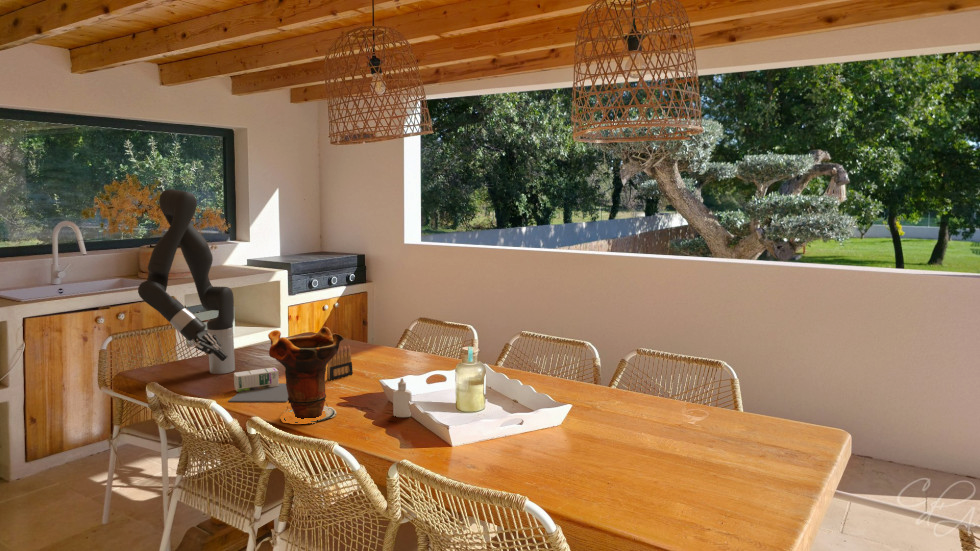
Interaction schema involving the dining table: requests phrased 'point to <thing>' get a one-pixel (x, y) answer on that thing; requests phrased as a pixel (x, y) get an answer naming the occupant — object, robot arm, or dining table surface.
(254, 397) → the mat
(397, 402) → the eye dropper bottle
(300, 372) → the decorative vase
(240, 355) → the dining table surface
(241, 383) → the syrup box
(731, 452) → the dining table surface
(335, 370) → the ammunition clip
